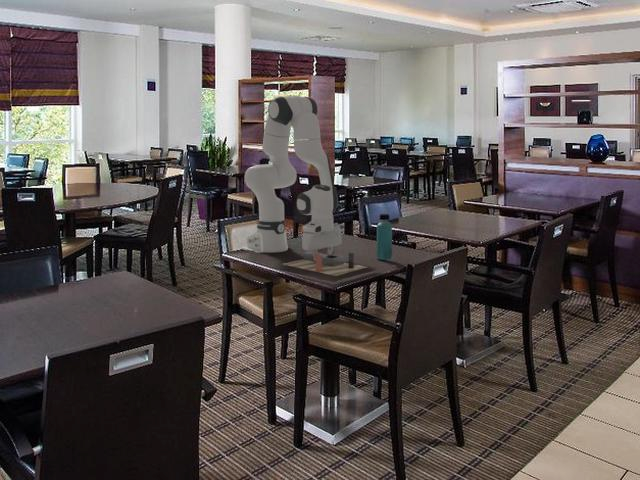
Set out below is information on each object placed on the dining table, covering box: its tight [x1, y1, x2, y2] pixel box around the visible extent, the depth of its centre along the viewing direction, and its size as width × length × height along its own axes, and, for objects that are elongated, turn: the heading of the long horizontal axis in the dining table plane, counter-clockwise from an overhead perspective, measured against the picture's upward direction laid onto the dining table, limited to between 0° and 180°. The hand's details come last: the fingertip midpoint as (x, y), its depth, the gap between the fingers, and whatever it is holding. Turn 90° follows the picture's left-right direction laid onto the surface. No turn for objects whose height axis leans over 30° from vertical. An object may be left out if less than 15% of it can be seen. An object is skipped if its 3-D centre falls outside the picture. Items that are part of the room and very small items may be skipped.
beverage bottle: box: [376, 213, 393, 261], centre depth 269 cm, size 6×7×20 cm
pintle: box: [348, 252, 355, 269], centre depth 255 cm, size 2×2×6 cm
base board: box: [283, 258, 368, 277], centre depth 260 cm, size 29×19×1 cm, turn 47°
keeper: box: [314, 254, 322, 271], centre depth 254 cm, size 7×2×5 cm, turn 7°
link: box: [303, 251, 345, 267], centre depth 266 cm, size 18×7×3 cm, turn 47°
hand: (322, 258), depth 266 cm, fingers open, 6 cm apart
